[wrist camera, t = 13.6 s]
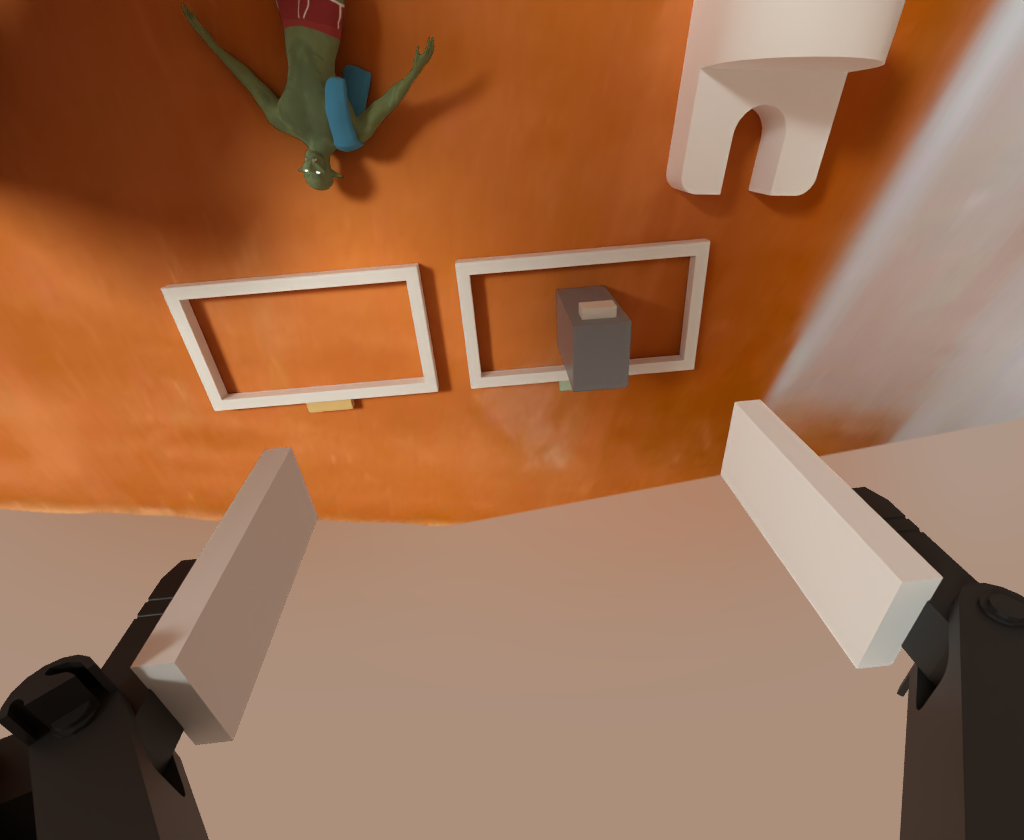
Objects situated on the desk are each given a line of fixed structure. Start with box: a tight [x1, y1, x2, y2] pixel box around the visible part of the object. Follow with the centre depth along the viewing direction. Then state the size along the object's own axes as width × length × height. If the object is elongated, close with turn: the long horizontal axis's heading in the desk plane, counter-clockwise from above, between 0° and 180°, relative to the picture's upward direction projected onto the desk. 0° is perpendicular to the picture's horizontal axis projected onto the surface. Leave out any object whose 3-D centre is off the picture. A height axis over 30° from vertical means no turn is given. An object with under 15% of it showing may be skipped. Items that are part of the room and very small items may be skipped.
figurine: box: [181, 0, 434, 190], centre depth 30 cm, size 16×4×18 cm
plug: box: [556, 286, 632, 392], centre depth 38 cm, size 4×6×9 cm
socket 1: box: [161, 263, 439, 413], centre depth 42 cm, size 20×12×1 cm, turn 94°
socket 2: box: [455, 238, 710, 391], centre depth 42 cm, size 20×12×1 cm, turn 94°
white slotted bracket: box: [666, 0, 905, 196], centre depth 29 cm, size 10×18×10 cm, turn 179°
